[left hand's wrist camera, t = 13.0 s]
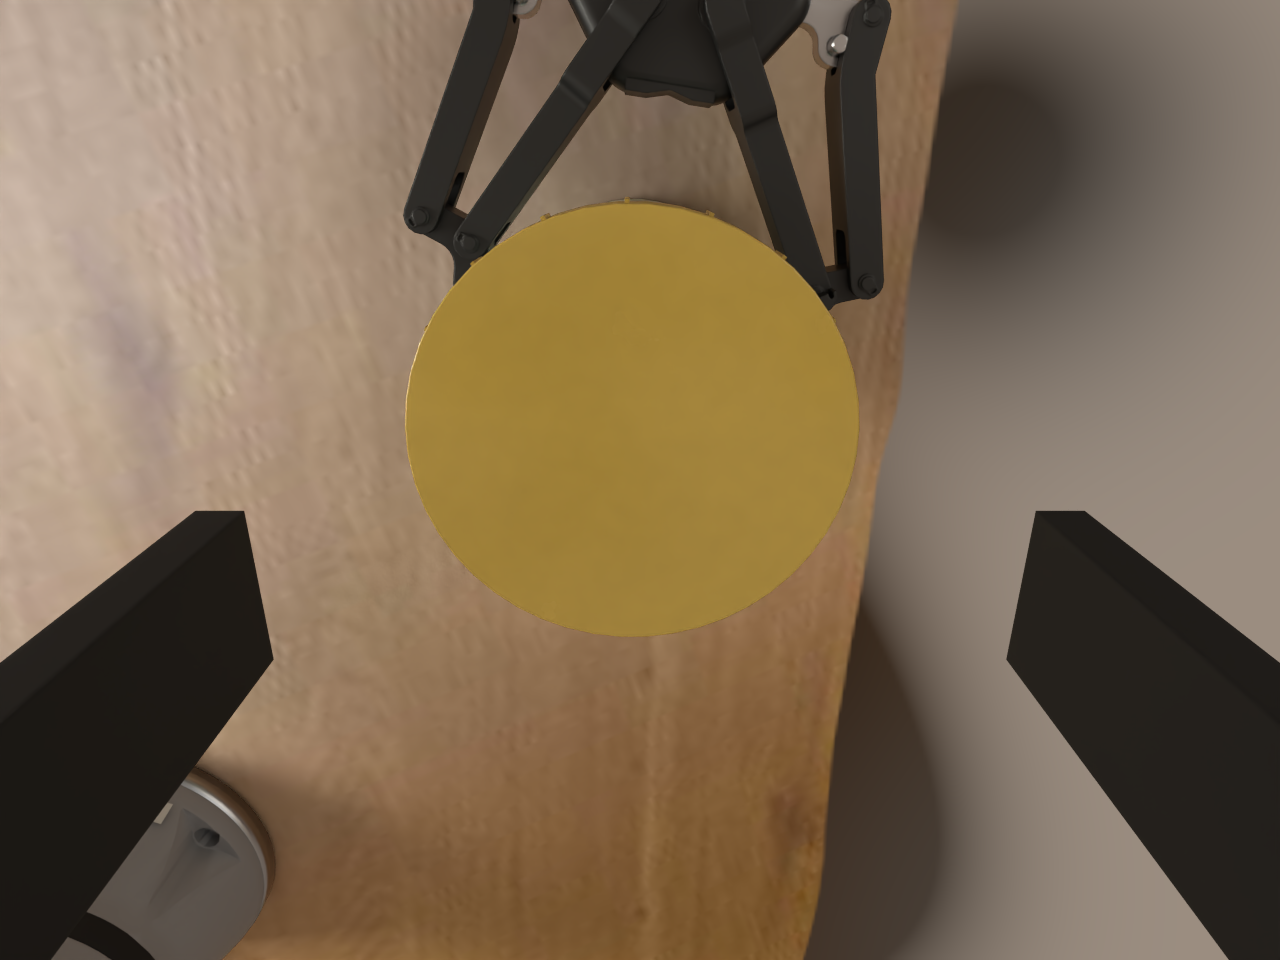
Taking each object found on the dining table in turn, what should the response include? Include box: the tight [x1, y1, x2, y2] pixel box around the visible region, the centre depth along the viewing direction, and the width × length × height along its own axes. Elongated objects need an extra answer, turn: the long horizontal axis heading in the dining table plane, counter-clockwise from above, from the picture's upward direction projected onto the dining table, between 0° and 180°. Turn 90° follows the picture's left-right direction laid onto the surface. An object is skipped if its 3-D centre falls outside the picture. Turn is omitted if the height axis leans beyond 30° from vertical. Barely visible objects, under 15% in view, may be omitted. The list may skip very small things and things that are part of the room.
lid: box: [405, 197, 859, 637], centre depth 21 cm, size 11×11×2 cm
